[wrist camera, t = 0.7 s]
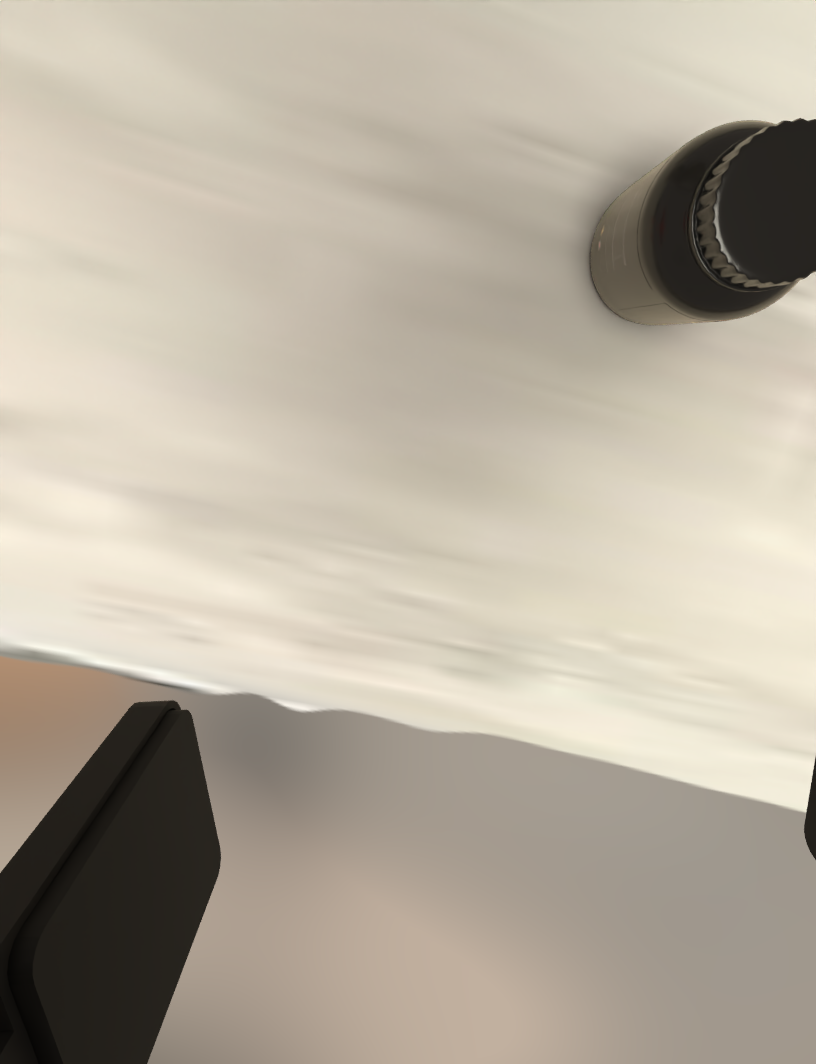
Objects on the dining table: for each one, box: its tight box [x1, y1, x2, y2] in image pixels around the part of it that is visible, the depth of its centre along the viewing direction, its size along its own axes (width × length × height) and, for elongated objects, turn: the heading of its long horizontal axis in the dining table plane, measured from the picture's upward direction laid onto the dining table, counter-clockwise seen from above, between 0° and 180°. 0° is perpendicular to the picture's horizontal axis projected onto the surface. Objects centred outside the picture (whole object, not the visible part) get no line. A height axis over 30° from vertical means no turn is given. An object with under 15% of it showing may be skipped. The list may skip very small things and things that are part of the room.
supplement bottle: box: [590, 118, 816, 325], centre depth 25 cm, size 7×7×12 cm
